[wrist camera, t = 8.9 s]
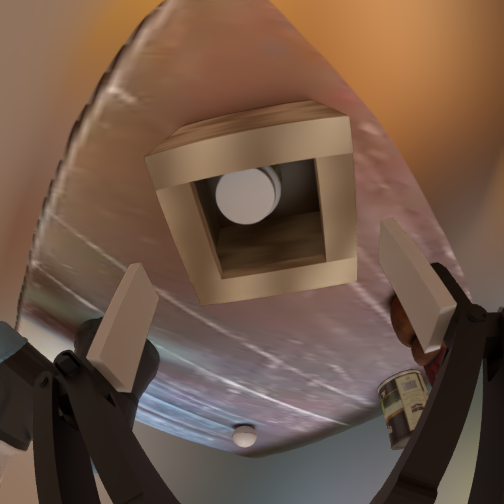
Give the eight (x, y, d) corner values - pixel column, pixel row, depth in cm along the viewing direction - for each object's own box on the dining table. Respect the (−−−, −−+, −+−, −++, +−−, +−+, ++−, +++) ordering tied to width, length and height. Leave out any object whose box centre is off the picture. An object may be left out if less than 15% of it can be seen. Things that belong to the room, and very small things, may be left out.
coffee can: (383, 399, 55) (396, 452, 44) (371, 384, 51) (386, 445, 39) (423, 380, 52) (441, 433, 40) (418, 362, 47) (439, 423, 36)
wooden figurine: (398, 318, 40) (431, 402, 27) (377, 303, 38) (412, 396, 25) (431, 290, 36) (475, 371, 24) (413, 272, 35) (462, 361, 22)
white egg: (261, 426, 61) (261, 447, 57) (243, 431, 63) (242, 451, 59) (241, 417, 58) (240, 439, 53) (222, 422, 60) (221, 443, 55)
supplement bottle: (222, 168, 27) (196, 180, 19) (267, 145, 26) (259, 146, 18) (246, 212, 28) (230, 241, 20) (291, 191, 27) (293, 212, 19)
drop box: (215, 233, 32) (201, 305, 22) (183, 125, 25) (143, 157, 16) (327, 213, 30) (356, 281, 21) (312, 99, 24) (348, 115, 14)
